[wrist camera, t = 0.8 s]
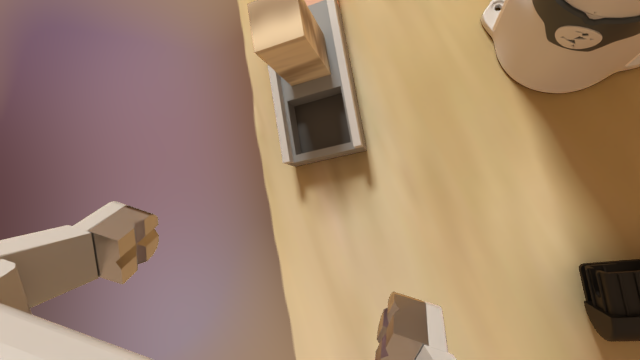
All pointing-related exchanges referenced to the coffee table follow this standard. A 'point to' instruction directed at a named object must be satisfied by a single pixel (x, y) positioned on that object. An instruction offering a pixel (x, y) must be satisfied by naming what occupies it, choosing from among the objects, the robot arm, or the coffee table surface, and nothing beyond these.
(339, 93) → the lane
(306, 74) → the block
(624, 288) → the end cap
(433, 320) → the robot arm
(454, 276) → the coffee table surface
